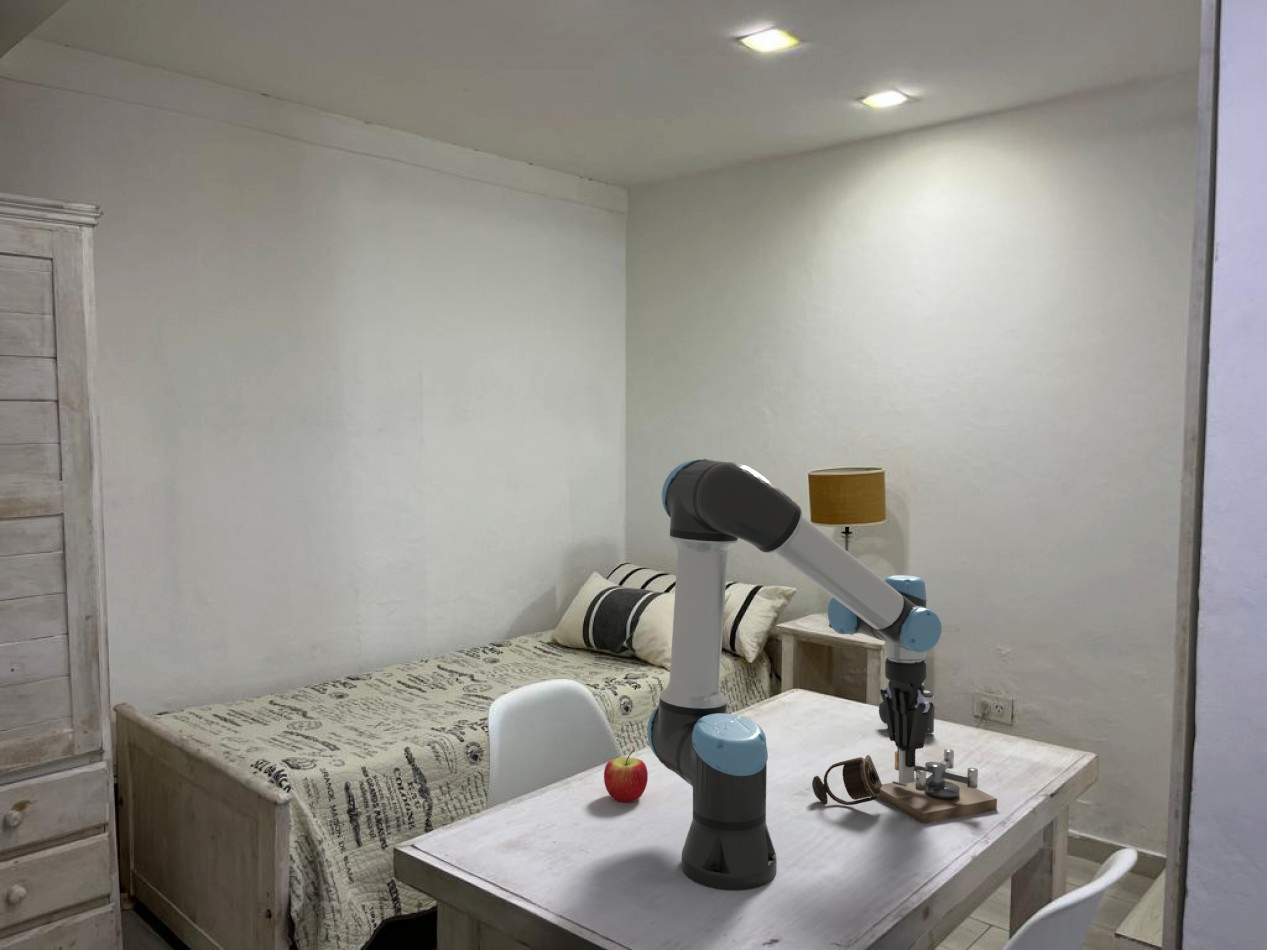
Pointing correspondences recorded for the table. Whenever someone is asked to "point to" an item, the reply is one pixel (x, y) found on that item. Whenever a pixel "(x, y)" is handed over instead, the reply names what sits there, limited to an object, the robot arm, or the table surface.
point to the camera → (930, 726)
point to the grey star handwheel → (941, 777)
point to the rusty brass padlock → (852, 781)
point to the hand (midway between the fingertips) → (906, 782)
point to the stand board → (935, 801)
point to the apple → (625, 778)
